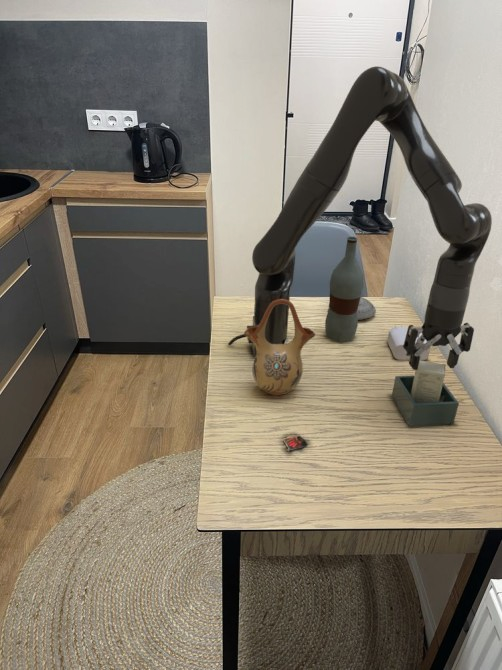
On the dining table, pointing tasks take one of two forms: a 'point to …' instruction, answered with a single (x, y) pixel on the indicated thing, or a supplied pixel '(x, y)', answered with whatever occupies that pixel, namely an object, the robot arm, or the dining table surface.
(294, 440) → the matchbox
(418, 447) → the dining table surface
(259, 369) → the ceramic vessel
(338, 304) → the bottle
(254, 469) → the dining table surface
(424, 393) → the cosmetic box
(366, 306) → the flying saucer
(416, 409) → the teal cube shelf
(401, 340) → the charger
